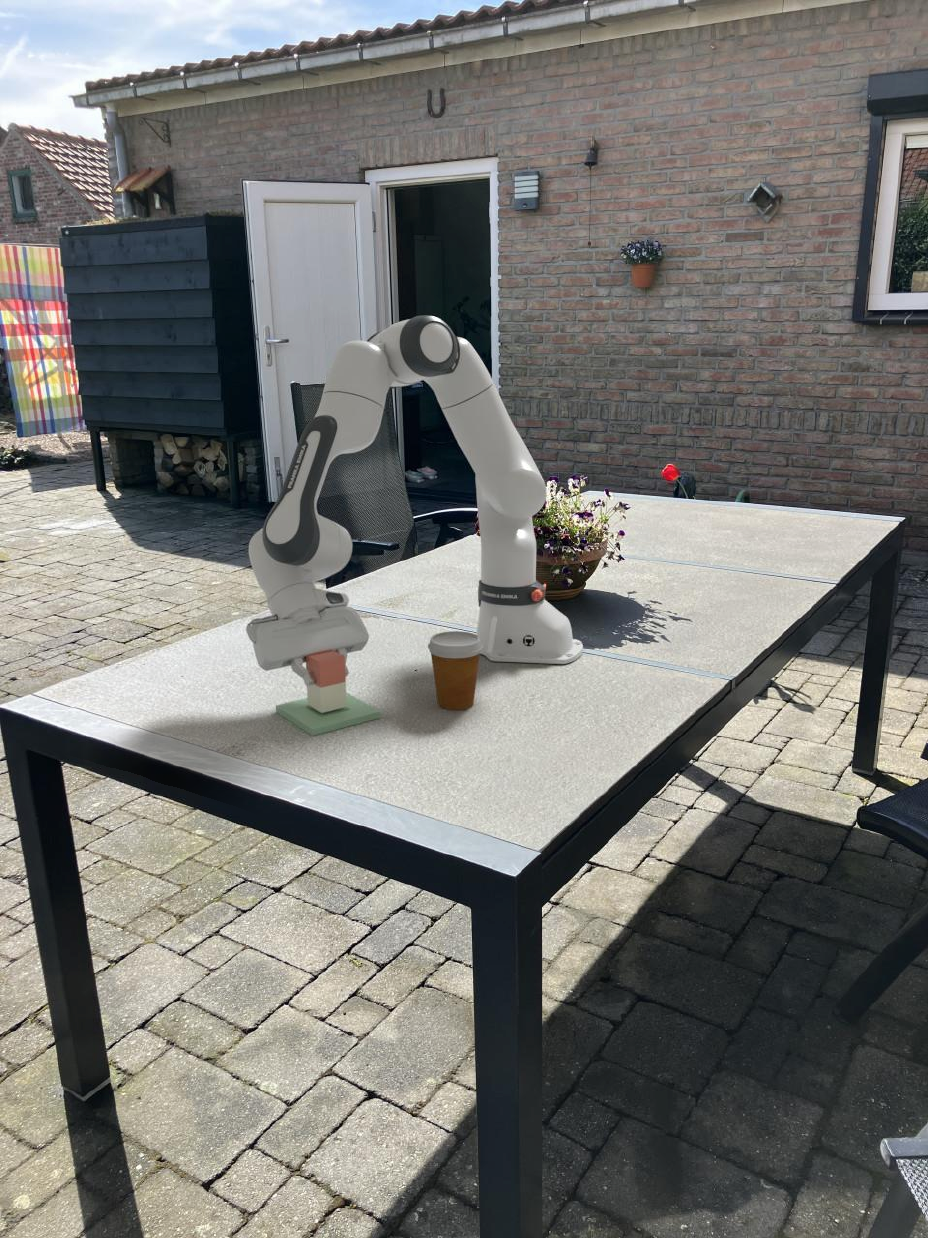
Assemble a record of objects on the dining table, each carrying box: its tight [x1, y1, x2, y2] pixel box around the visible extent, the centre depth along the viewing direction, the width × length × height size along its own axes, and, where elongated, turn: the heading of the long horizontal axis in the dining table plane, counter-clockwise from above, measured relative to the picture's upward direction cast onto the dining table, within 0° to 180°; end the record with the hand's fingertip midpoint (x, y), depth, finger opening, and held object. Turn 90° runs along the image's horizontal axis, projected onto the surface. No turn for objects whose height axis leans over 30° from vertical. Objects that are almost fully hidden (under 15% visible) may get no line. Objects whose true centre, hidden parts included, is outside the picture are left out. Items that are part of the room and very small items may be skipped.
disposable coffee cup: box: [427, 630, 483, 711], centre depth 179 cm, size 10×10×12 cm
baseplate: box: [275, 692, 381, 737], centre depth 175 cm, size 13×13×1 cm
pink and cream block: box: [305, 650, 347, 713], centre depth 173 cm, size 5×5×9 cm
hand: (328, 679), depth 173 cm, fingers closed on pink and cream block, 5 cm apart
